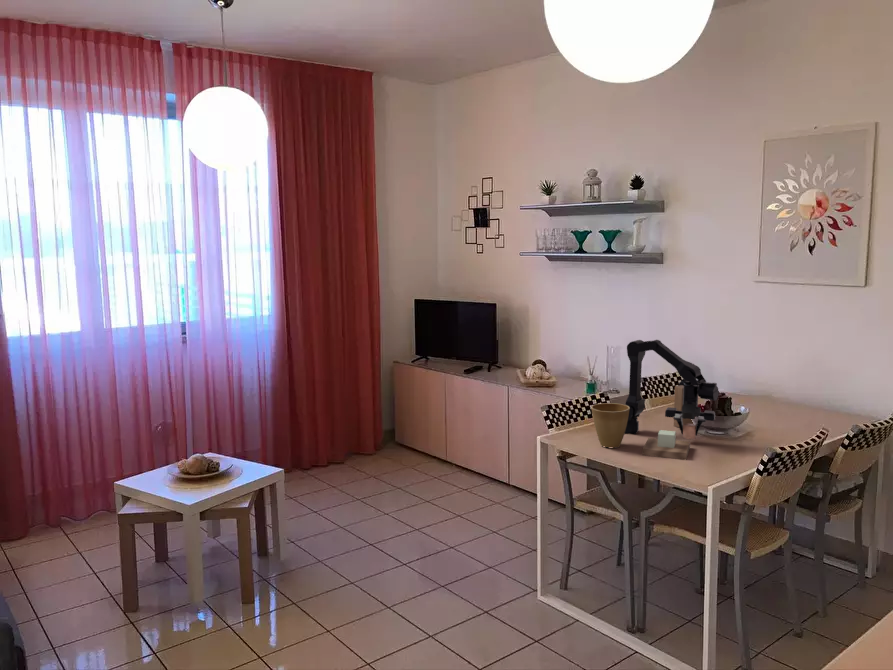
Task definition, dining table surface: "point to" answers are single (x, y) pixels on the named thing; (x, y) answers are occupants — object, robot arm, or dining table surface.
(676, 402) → the wooden block
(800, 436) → the dining table surface
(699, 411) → the robot arm
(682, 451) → the walnut base
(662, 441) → the sage cube
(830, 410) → the dining table surface
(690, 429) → the salmon pink cube
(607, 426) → the plant pot
